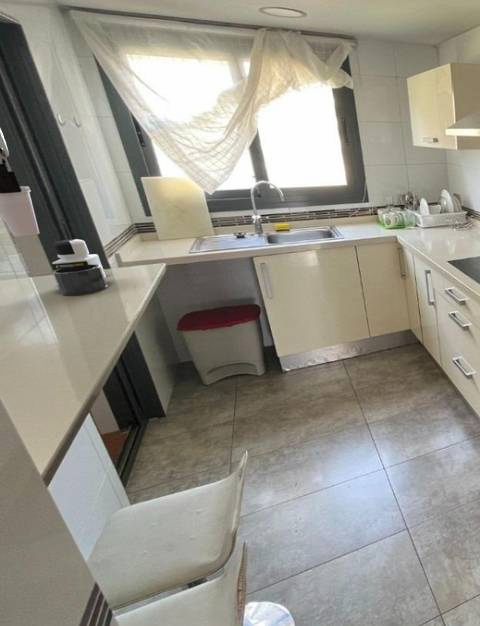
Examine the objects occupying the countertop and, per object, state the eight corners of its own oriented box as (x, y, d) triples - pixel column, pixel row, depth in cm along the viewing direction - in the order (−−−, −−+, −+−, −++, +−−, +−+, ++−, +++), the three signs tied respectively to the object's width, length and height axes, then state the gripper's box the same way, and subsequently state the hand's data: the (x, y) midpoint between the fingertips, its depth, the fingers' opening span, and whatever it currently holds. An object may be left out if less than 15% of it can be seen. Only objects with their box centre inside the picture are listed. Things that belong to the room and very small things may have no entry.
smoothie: (13, 238, 93) (-19, 167, 88) (-2, 236, 96) (-35, 166, 91) (54, 232, 99) (26, 165, 94) (39, 230, 101) (11, 164, 96)
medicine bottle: (61, 288, 123) (43, 244, 118) (74, 281, 129) (57, 239, 124) (96, 285, 125) (79, 241, 121) (107, 278, 131) (91, 236, 127)
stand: (57, 298, 115) (47, 275, 113) (66, 289, 122) (57, 267, 120) (104, 291, 120) (95, 269, 118) (110, 283, 127) (102, 262, 124)
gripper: (-67, 96, 90) (-24, 190, 96) (-64, 91, 80) (-16, 196, 86) (-9, 98, 95) (28, 187, 102) (0, 94, 85) (41, 192, 92)
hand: (7, 190), depth 94 cm, fingers closed on smoothie, 6 cm apart
